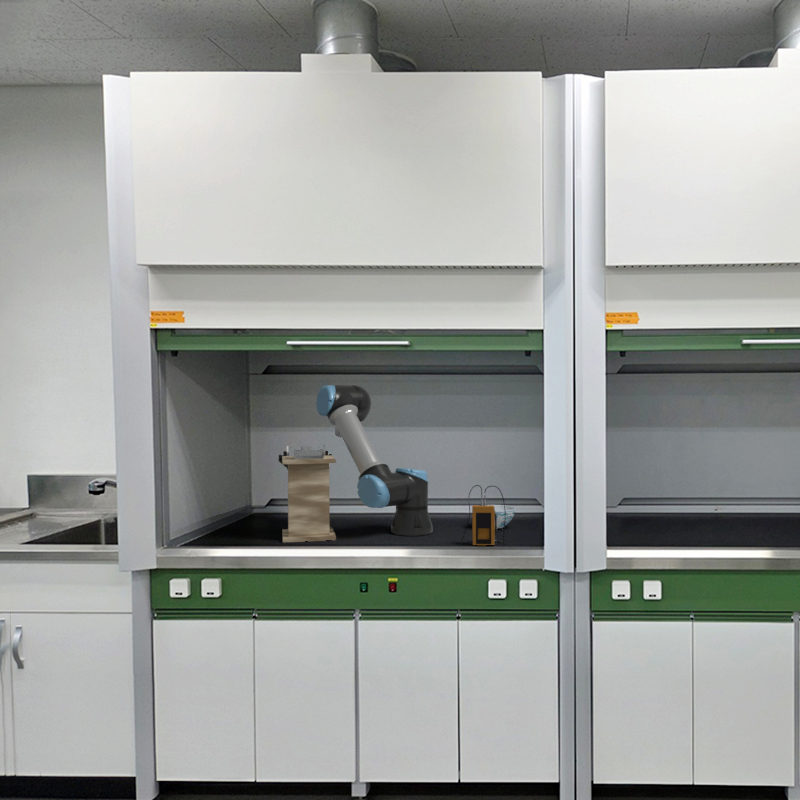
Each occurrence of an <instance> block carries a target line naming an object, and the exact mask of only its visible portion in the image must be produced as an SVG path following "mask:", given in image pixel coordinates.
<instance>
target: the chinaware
mask: <svg viewBox="0 0 800 800" xmlns="http://www.w3.org/2000/svg"><path fill="white" fill-rule="evenodd" d="M492 505H493V506H494V507H495V514H496V520H497V529H498V528H503V527H504V522H505V527H506V526H507V525H509V523H510V522H511V521H512V520H513V519H514V516H515V512H516V507H514V506H511V505H506V504H505V509H504V504H492ZM505 513H506V517H505Z"/></svg>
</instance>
